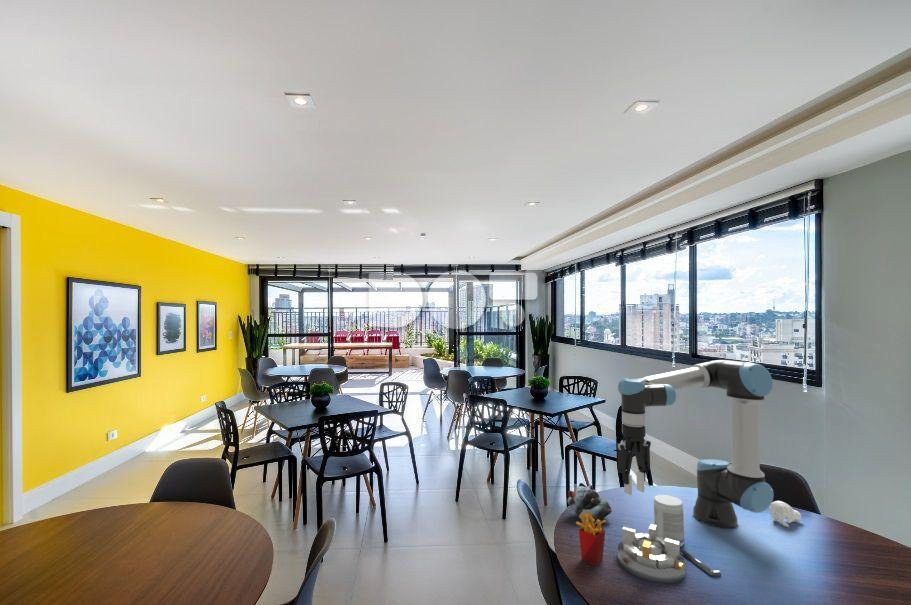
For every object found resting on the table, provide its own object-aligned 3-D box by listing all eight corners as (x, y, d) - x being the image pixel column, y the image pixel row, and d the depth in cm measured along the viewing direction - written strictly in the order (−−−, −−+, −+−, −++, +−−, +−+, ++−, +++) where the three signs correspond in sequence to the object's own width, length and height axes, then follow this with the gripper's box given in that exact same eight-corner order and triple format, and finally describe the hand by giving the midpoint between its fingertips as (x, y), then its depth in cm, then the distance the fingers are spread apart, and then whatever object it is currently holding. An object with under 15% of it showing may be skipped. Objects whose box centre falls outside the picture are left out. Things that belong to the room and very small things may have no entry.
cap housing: (656, 544, 145) (656, 526, 146) (700, 579, 126) (699, 559, 126) (606, 549, 141) (605, 532, 142) (643, 586, 122) (642, 566, 122)
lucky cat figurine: (589, 529, 155) (571, 493, 159) (574, 528, 165) (558, 493, 170) (618, 512, 160) (600, 476, 165) (601, 511, 171) (585, 478, 175)
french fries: (606, 559, 136) (606, 514, 136) (594, 570, 130) (594, 522, 130) (582, 549, 142) (581, 505, 142) (570, 558, 136) (569, 513, 137)
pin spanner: (681, 554, 139) (681, 549, 139) (689, 553, 140) (689, 548, 140) (711, 577, 127) (711, 572, 127) (720, 576, 127) (720, 571, 127)
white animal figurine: (767, 498, 164) (791, 498, 166) (766, 519, 163) (790, 519, 165) (782, 505, 157) (807, 505, 160) (781, 527, 157) (806, 527, 159)
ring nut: (655, 538, 143) (654, 521, 143) (688, 565, 128) (688, 545, 128) (615, 543, 140) (615, 525, 140) (644, 570, 125) (644, 550, 125)
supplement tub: (689, 543, 146) (688, 501, 147) (675, 551, 141) (674, 508, 141) (663, 531, 154) (662, 492, 155) (649, 538, 149) (648, 498, 150)
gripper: (644, 419, 148) (645, 484, 147) (605, 423, 142) (606, 491, 141) (661, 424, 141) (662, 492, 140) (621, 429, 135) (622, 500, 134)
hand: (634, 491), depth 141 cm, fingers open, 5 cm apart
